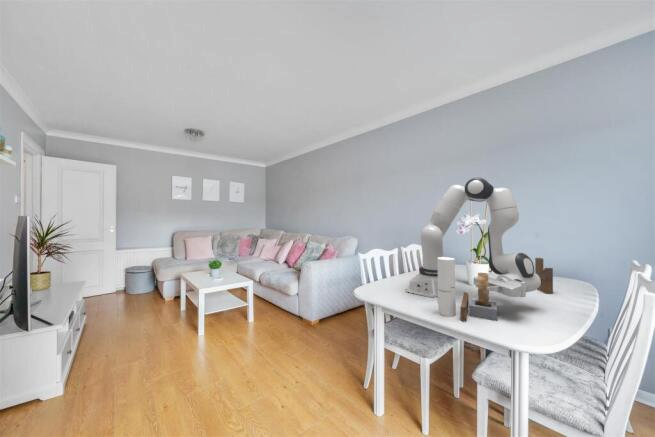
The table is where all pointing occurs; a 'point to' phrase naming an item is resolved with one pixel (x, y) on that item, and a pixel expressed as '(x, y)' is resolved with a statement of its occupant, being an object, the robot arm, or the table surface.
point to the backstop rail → (464, 306)
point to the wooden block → (544, 276)
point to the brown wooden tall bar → (483, 289)
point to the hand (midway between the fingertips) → (481, 287)
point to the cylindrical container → (446, 286)
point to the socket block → (483, 310)
